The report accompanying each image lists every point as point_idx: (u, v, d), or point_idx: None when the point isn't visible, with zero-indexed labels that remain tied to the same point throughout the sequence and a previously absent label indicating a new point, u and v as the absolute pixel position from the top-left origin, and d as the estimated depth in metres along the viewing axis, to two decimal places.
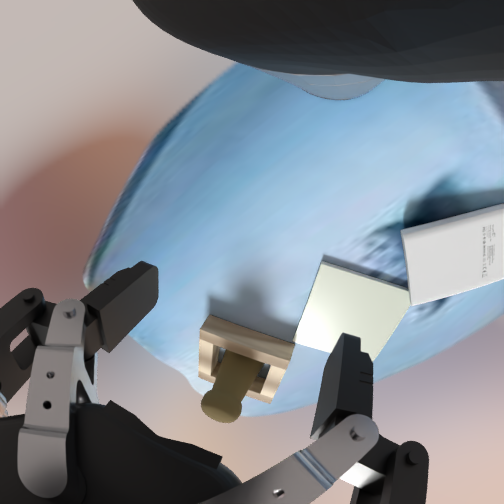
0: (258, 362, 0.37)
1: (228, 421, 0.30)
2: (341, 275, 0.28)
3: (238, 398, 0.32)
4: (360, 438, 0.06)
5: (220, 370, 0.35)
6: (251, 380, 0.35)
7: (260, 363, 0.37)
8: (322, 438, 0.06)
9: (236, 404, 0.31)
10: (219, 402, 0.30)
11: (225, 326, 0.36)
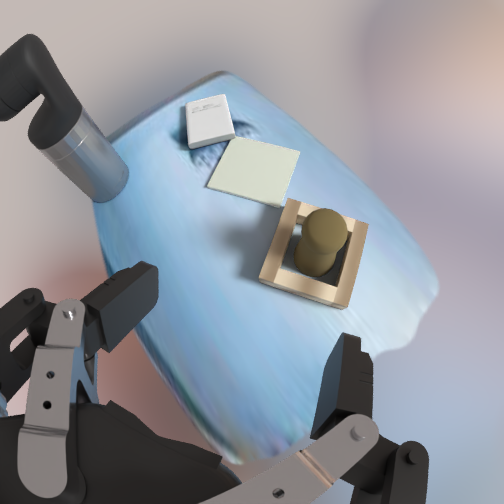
0: None
1: (333, 214, 0.30)
2: (216, 175, 0.44)
3: None
4: (360, 438, 0.06)
5: (305, 256, 0.35)
6: None
7: None
8: (322, 438, 0.06)
9: None
10: (304, 223, 0.30)
11: None
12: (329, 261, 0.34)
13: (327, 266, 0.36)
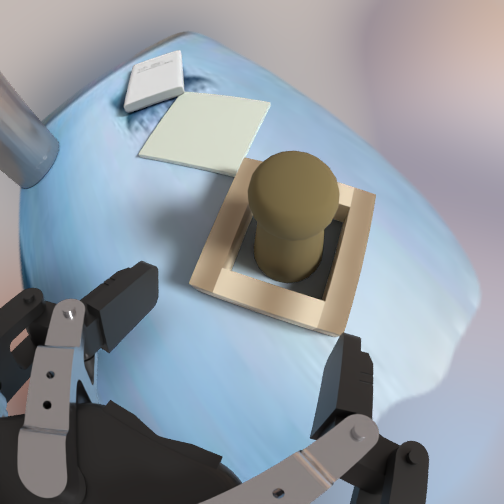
0: None
1: (309, 158, 0.15)
2: (152, 139, 0.29)
3: None
4: (360, 438, 0.06)
5: (264, 247, 0.20)
6: None
7: None
8: (322, 438, 0.06)
9: None
10: (251, 178, 0.15)
11: None
12: (309, 255, 0.19)
13: (307, 264, 0.21)
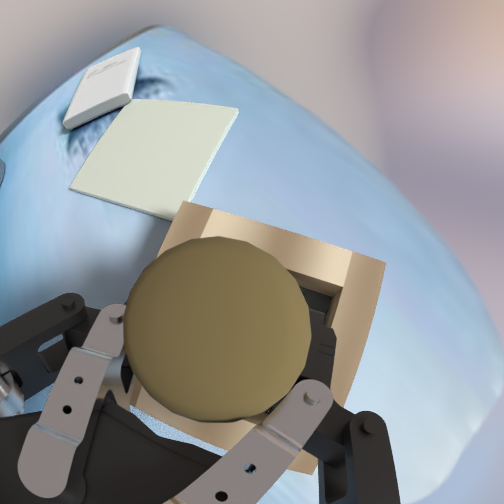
0: None
1: (241, 267, 0.06)
2: (86, 166, 0.21)
3: None
4: (312, 401, 0.07)
5: None
6: None
7: None
8: (277, 408, 0.06)
9: None
10: None
11: None
12: None
13: None
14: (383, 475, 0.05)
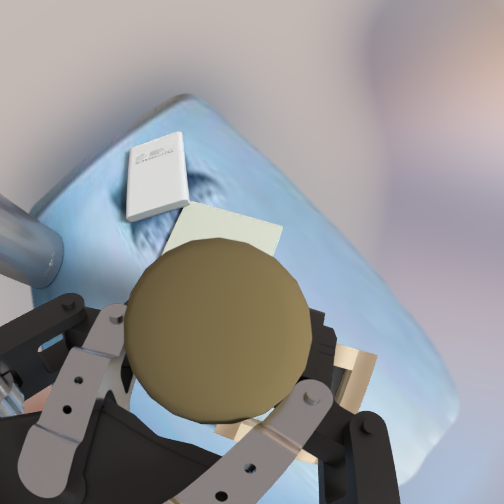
0: None
1: (241, 269, 0.06)
2: None
3: None
4: (312, 402, 0.07)
5: None
6: None
7: None
8: (277, 408, 0.06)
9: None
10: None
11: None
12: None
13: None
14: (383, 475, 0.05)
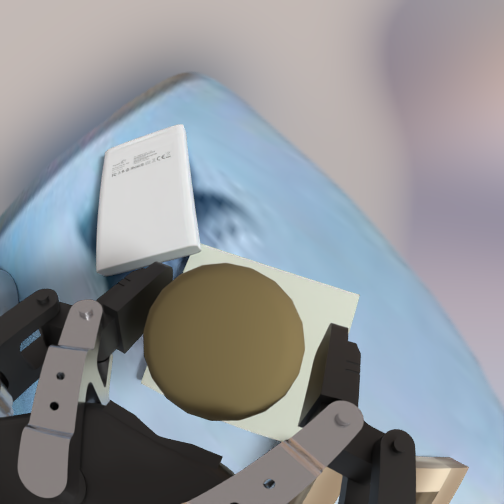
0: None
1: (246, 292, 0.08)
2: None
3: None
4: (344, 424, 0.06)
5: None
6: None
7: None
8: (307, 426, 0.06)
9: None
10: (148, 315, 0.09)
11: None
12: None
13: None
14: (404, 494, 0.04)
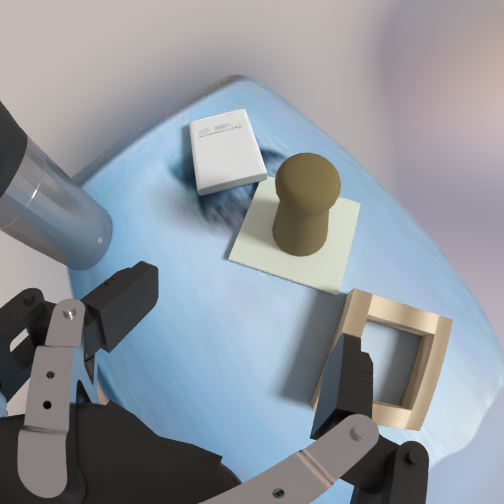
0: None
1: (319, 158, 0.20)
2: (241, 240, 0.31)
3: None
4: (360, 438, 0.06)
5: (284, 225, 0.26)
6: None
7: None
8: (322, 438, 0.06)
9: None
10: (277, 171, 0.21)
11: (320, 380, 0.25)
12: (318, 231, 0.25)
13: (316, 240, 0.27)
14: None
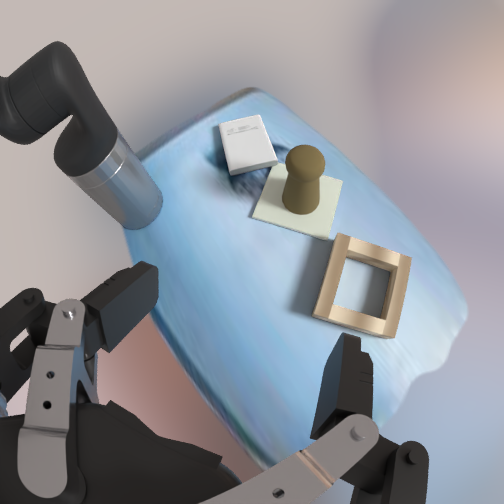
0: None
1: (312, 148, 0.34)
2: (261, 204, 0.44)
3: None
4: (360, 438, 0.06)
5: (290, 190, 0.39)
6: None
7: None
8: (322, 438, 0.06)
9: None
10: (287, 155, 0.35)
11: (318, 297, 0.38)
12: (312, 195, 0.39)
13: (311, 201, 0.40)
14: None
